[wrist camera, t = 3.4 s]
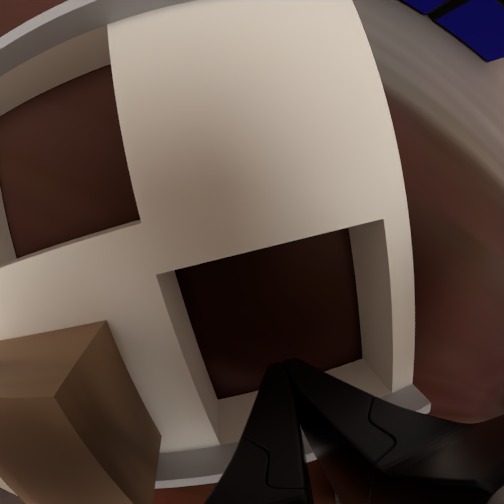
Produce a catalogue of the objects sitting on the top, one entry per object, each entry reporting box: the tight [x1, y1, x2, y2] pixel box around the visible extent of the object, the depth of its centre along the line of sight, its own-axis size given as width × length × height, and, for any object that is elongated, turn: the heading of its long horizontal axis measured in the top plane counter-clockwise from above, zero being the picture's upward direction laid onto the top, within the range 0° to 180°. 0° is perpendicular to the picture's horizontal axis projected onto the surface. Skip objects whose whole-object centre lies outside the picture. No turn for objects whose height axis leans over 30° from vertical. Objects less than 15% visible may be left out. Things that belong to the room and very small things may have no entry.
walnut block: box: [0, 320, 162, 504], centre depth 7 cm, size 5×5×4 cm
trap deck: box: [0, 0, 431, 488], centre depth 8 cm, size 16×26×6 cm, turn 103°
